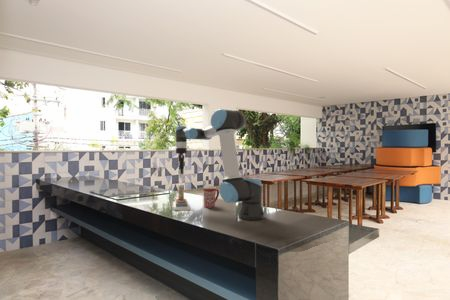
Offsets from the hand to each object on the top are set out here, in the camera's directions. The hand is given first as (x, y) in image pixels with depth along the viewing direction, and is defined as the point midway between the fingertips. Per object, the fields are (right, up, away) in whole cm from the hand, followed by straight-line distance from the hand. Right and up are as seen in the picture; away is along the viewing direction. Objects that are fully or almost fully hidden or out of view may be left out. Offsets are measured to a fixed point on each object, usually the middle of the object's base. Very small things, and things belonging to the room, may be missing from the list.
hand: (181, 177), depth 213 cm
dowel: (0, -18, 0) cm, 18 cm away
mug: (+22, -20, -3) cm, 30 cm away
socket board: (+1, -20, -5) cm, 21 cm away
